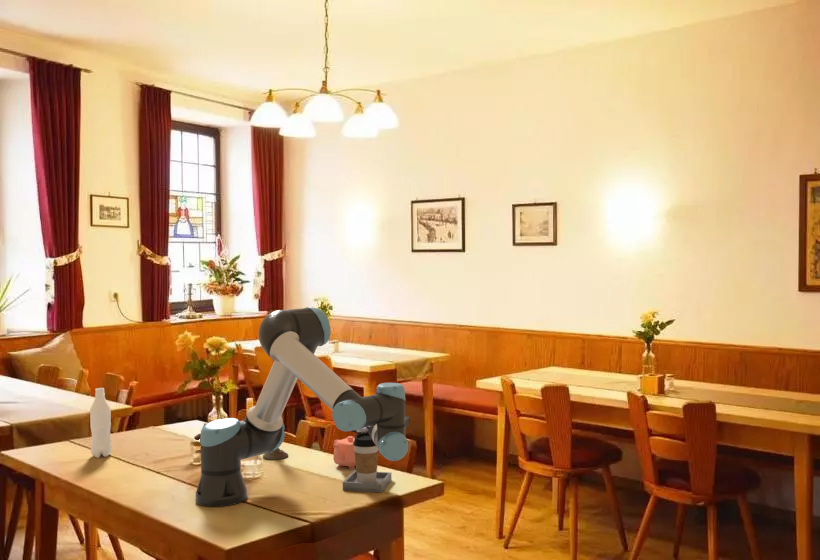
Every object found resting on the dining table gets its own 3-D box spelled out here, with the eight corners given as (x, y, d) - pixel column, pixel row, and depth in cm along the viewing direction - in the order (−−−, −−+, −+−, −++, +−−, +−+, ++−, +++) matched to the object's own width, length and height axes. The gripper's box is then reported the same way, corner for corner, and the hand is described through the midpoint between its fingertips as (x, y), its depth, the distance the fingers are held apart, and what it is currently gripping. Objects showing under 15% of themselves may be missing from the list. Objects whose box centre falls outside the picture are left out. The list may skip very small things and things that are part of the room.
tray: (381, 492, 227) (381, 484, 227) (342, 490, 229) (342, 482, 229) (391, 480, 239) (391, 472, 239) (354, 477, 242) (354, 470, 242)
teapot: (334, 460, 263) (333, 432, 262) (367, 459, 264) (367, 431, 263) (333, 472, 249) (332, 442, 248) (368, 471, 249) (367, 441, 249)
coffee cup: (381, 478, 238) (381, 432, 237) (378, 486, 229) (377, 439, 229) (356, 477, 239) (355, 432, 238) (351, 485, 230) (350, 438, 230)
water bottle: (88, 455, 271) (86, 388, 270) (107, 452, 276) (106, 386, 275) (94, 459, 266) (93, 391, 265) (114, 455, 271) (113, 388, 270)
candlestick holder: (276, 461, 261) (275, 377, 260) (257, 458, 266) (256, 375, 265) (293, 455, 269) (292, 374, 268) (274, 452, 274) (273, 372, 273)
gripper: (339, 449, 201) (331, 430, 222) (428, 444, 207) (411, 426, 227) (339, 422, 201) (331, 405, 222) (428, 417, 206) (411, 402, 227)
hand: (371, 416), depth 225 cm, fingers open, 13 cm apart
